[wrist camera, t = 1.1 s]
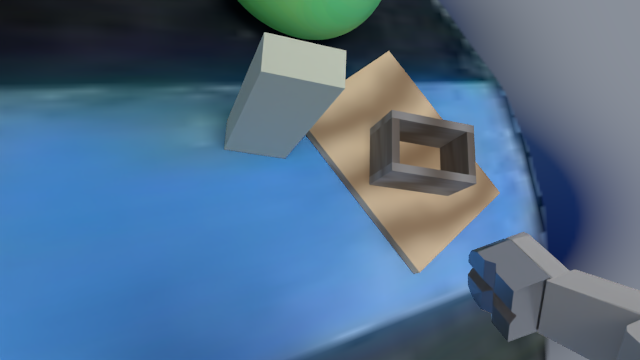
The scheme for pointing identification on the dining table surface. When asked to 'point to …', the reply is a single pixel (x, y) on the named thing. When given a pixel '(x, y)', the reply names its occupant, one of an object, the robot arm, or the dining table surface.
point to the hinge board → (403, 161)
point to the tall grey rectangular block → (284, 95)
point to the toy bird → (311, 16)
